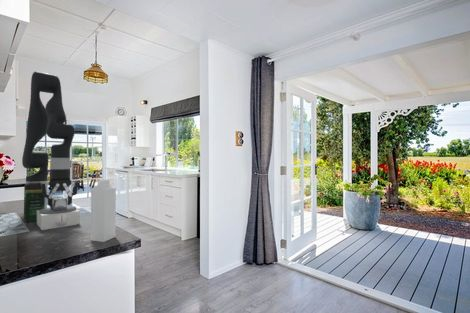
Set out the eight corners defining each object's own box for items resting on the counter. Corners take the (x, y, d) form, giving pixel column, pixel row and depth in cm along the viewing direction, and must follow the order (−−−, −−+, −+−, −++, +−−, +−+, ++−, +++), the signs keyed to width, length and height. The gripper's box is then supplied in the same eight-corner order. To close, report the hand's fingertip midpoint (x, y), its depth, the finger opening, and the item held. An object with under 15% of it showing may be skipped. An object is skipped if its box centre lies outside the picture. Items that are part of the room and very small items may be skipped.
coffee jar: (45, 221, 122) (45, 181, 122) (23, 223, 117) (24, 182, 117) (44, 217, 130) (44, 180, 130) (23, 219, 125) (24, 181, 125)
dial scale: (36, 223, 118) (36, 208, 118) (72, 218, 128) (72, 204, 128) (41, 230, 107) (42, 213, 107) (80, 224, 117) (80, 209, 117)
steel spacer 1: (49, 207, 120) (49, 196, 120) (62, 206, 124) (62, 195, 124) (51, 209, 117) (51, 198, 117) (64, 207, 120) (64, 196, 120)
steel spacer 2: (52, 209, 115) (52, 198, 115) (65, 208, 119) (65, 197, 119) (54, 211, 112) (54, 200, 112) (68, 210, 115) (68, 198, 115)
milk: (90, 240, 95) (90, 180, 95) (102, 235, 101) (102, 179, 101) (104, 242, 94) (104, 181, 94) (115, 237, 100) (115, 179, 100)
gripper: (76, 167, 123) (76, 202, 123) (39, 168, 113) (38, 206, 113) (81, 168, 118) (80, 205, 118) (41, 168, 108) (41, 209, 108)
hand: (60, 205), depth 115 cm, fingers open, 6 cm apart
